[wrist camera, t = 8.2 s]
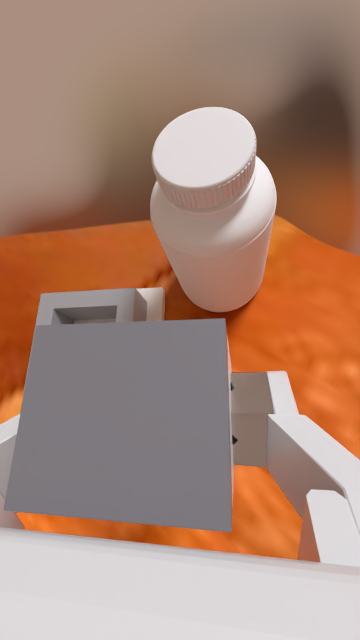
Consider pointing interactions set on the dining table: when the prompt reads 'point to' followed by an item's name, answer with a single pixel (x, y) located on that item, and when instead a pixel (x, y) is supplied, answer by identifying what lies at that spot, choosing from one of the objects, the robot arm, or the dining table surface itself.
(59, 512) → the plug
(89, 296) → the socket
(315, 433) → the robot arm
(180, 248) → the pill bottle
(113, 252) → the dining table surface
